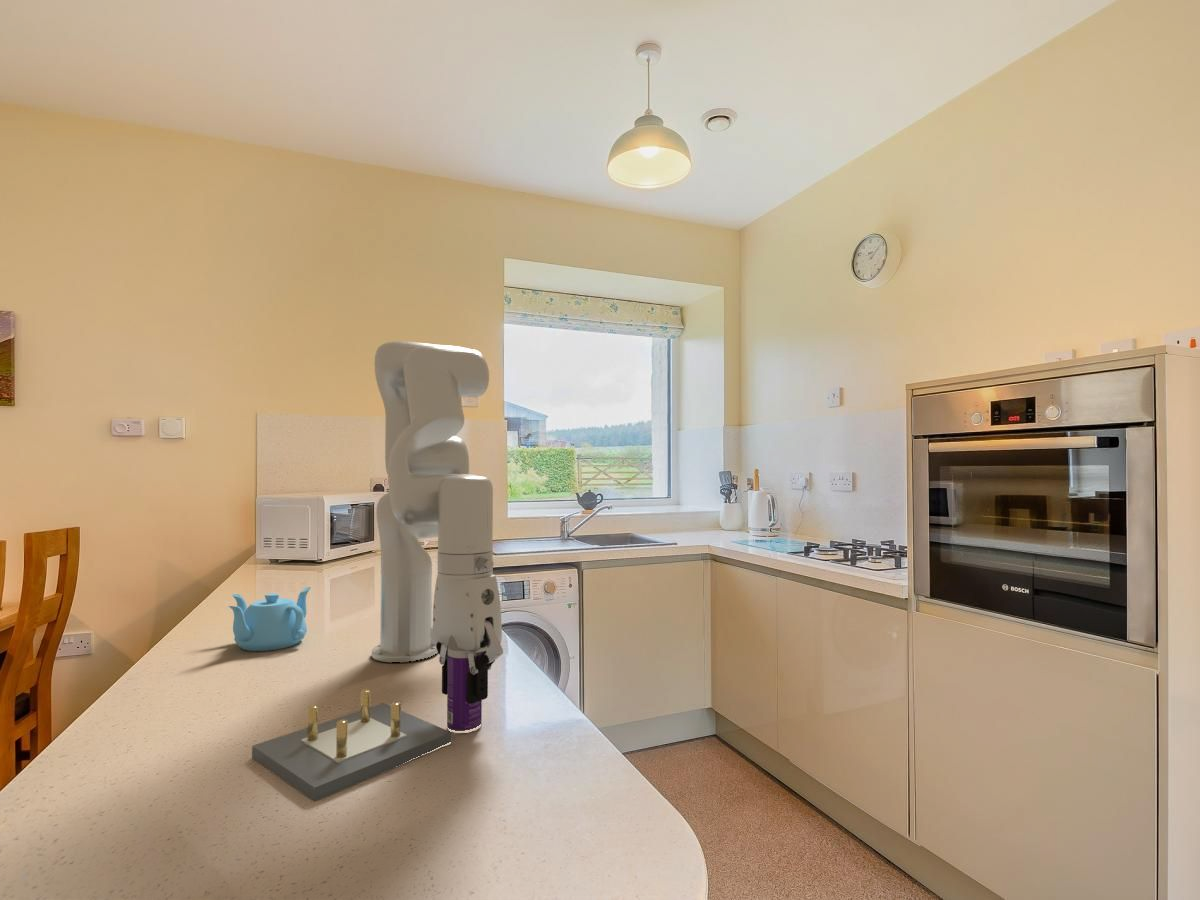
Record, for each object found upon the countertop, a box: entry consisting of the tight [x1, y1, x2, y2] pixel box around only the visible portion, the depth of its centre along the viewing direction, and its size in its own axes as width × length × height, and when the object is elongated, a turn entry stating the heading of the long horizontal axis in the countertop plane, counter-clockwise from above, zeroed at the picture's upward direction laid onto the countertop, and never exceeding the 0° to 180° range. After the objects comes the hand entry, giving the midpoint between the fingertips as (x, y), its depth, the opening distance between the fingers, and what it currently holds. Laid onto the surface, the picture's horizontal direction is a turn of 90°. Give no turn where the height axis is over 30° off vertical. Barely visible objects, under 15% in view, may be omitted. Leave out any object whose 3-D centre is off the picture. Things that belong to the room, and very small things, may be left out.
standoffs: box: [306, 689, 402, 758], centre depth 79 cm, size 8×8×4 cm
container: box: [446, 635, 483, 731], centre depth 86 cm, size 5×5×15 cm
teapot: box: [228, 586, 312, 652], centre depth 126 cm, size 15×15×10 cm
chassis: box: [251, 702, 453, 803], centre depth 79 cm, size 18×16×2 cm
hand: (464, 694), depth 86 cm, fingers closed on container, 4 cm apart
